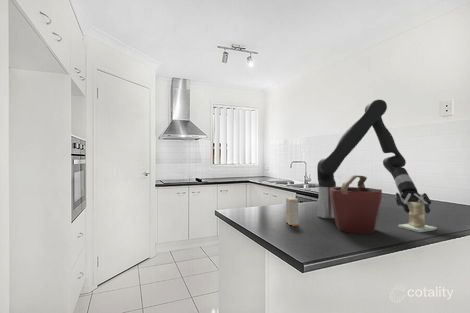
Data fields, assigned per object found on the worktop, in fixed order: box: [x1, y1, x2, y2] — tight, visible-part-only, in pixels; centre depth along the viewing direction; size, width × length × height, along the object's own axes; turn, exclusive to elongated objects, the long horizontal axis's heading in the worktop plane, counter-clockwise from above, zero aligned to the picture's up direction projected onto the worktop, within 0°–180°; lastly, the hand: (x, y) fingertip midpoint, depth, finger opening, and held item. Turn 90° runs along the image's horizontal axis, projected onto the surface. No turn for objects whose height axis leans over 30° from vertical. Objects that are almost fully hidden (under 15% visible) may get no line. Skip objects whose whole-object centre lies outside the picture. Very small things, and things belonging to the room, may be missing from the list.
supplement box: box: [285, 196, 299, 227], centre depth 131 cm, size 8×5×13 cm, turn 179°
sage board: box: [397, 222, 437, 233], centre depth 122 cm, size 12×10×1 cm
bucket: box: [330, 175, 383, 235], centre depth 121 cm, size 24×22×25 cm
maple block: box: [408, 201, 426, 228], centre depth 122 cm, size 4×4×11 cm
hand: (418, 212), depth 120 cm, fingers open, 8 cm apart
